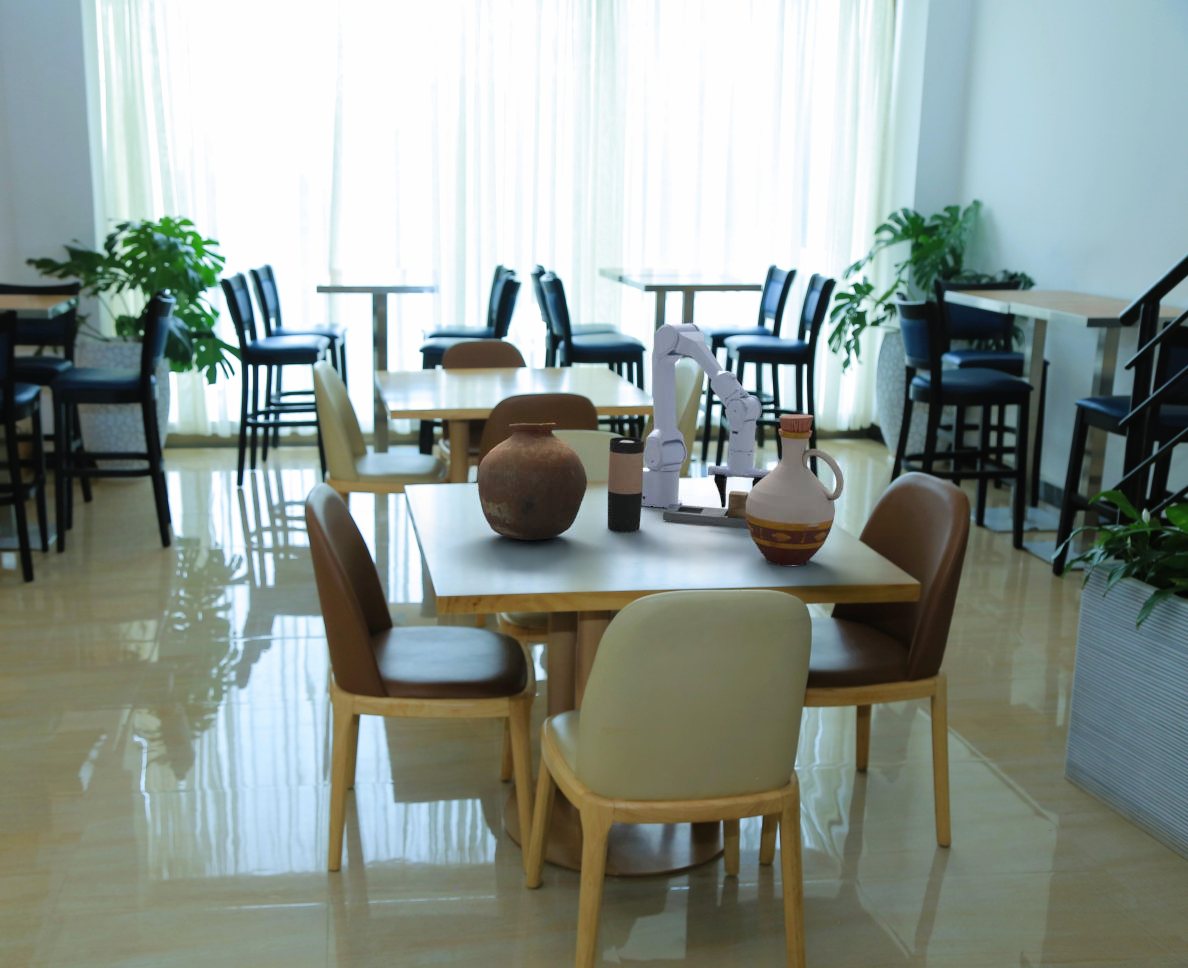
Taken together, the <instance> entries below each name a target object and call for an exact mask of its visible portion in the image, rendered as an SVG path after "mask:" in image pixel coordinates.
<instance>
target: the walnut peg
mask: <svg viewBox="0 0 1188 968" xmlns="http://www.w3.org/2000/svg"><path fill="white" fill-rule="evenodd" d="M748 494H749V491H739V490H730V492H729V493H728V505H727V509H728V516H733V517H745V518H746V501H747V497H748Z"/></svg>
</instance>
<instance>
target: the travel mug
mask: <svg viewBox="0 0 1188 968" xmlns="http://www.w3.org/2000/svg"><path fill="white" fill-rule="evenodd" d="M644 446H645V441H644V440H643V441H642V440H641V438H637V437H631V436H618V437H617V436H616V437H611V438H610V440H609V452H608V453H609V456H608V474H607V475H608V478H607V529H608V530H609V529H610V530H609V531H612V532H616V531H617V533H634V532H638V531H639V530H640V525H641V515H642V514H641V513H642V506H641V503H642V486H643V468H644V450H645V448H644Z"/></svg>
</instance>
